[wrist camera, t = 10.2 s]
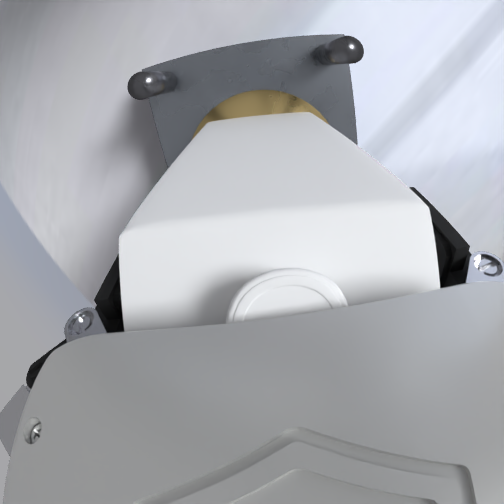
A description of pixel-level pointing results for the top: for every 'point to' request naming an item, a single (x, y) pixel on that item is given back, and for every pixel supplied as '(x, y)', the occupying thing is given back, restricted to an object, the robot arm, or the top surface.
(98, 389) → the robot arm
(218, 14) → the top surface
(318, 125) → the milk carton
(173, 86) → the grey pegged base
